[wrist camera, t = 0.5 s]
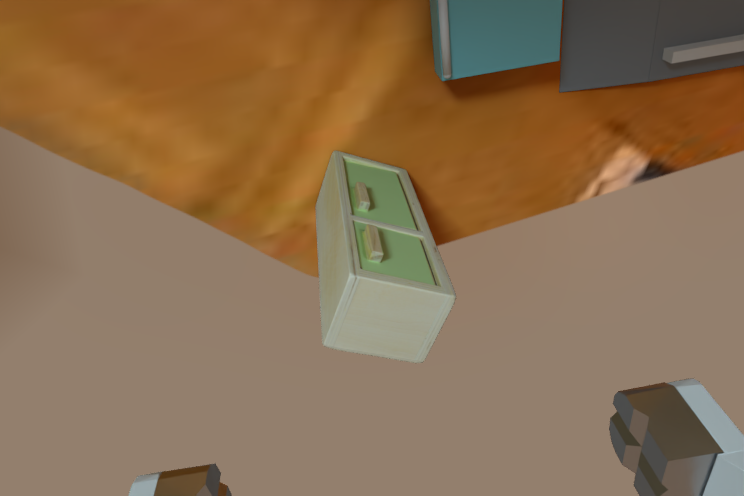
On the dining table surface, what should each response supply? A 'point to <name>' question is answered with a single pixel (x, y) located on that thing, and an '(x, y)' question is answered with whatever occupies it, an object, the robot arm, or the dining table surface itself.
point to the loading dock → (647, 40)
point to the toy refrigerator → (377, 263)
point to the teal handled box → (493, 35)
